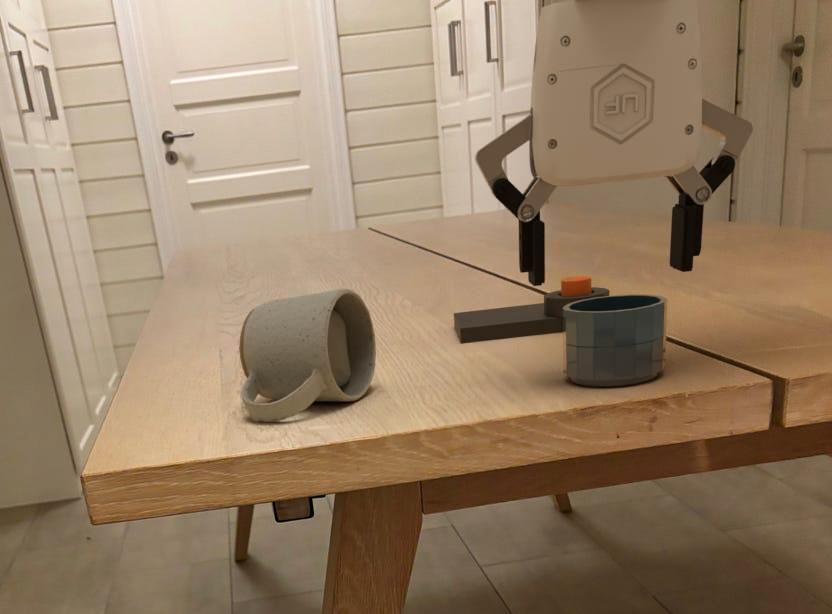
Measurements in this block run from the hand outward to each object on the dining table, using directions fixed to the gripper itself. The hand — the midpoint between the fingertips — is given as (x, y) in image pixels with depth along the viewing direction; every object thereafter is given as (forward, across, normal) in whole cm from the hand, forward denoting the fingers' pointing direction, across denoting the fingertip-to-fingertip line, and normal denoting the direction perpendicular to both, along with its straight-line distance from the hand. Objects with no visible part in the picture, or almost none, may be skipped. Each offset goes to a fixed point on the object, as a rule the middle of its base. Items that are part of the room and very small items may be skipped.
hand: (608, 276), depth 65 cm
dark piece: (+7, -2, +23) cm, 24 cm away
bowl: (+7, +1, 0) cm, 7 cm away
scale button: (+4, +2, +21) cm, 21 cm away
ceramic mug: (+7, -21, +2) cm, 23 cm away
